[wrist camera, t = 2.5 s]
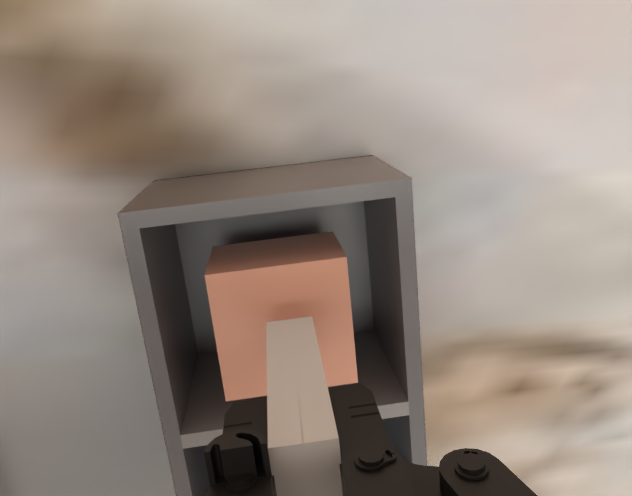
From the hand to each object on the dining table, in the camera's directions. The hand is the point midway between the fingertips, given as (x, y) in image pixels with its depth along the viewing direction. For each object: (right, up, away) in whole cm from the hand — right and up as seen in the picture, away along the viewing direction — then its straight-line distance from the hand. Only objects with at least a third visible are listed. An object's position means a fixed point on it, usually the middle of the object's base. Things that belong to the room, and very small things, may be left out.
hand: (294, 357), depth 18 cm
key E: (-1, +2, +6) cm, 6 cm away
